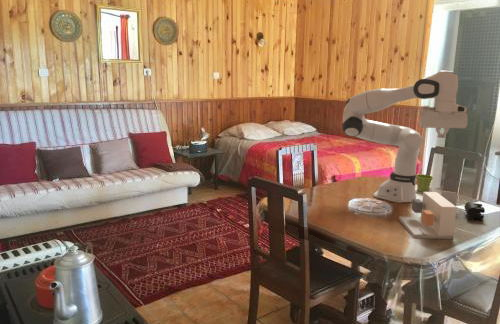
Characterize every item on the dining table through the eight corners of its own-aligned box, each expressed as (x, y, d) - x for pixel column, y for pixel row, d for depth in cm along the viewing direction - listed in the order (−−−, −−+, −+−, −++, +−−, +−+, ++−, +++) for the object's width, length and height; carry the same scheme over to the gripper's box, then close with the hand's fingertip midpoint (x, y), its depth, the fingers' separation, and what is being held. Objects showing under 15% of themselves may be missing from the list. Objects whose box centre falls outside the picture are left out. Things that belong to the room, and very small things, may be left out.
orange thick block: (425, 225, 173) (426, 214, 172) (421, 221, 178) (422, 210, 177) (436, 225, 173) (437, 214, 172) (432, 221, 178) (433, 210, 177)
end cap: (463, 213, 205) (465, 200, 204) (479, 215, 203) (481, 202, 201) (466, 220, 196) (468, 206, 195) (483, 222, 194) (485, 208, 192)
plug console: (413, 237, 174) (417, 206, 171) (398, 219, 195) (401, 191, 192) (452, 239, 173) (456, 207, 170) (433, 220, 194) (436, 192, 192)
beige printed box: (454, 212, 206) (456, 193, 204) (439, 210, 209) (441, 191, 207) (455, 210, 209) (457, 192, 207) (440, 208, 212) (443, 189, 210)
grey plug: (415, 212, 189) (416, 202, 188) (411, 209, 193) (412, 199, 192) (425, 213, 188) (426, 202, 187) (421, 209, 193) (422, 199, 192)
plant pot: (430, 189, 248) (432, 175, 246) (432, 193, 239) (433, 178, 237) (414, 187, 251) (415, 173, 249) (415, 191, 242) (416, 177, 240)
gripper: (423, 107, 184) (420, 138, 187) (470, 108, 182) (467, 139, 185) (418, 106, 190) (415, 136, 193) (464, 107, 189) (461, 136, 192)
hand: (441, 137), depth 189 cm, fingers closed
